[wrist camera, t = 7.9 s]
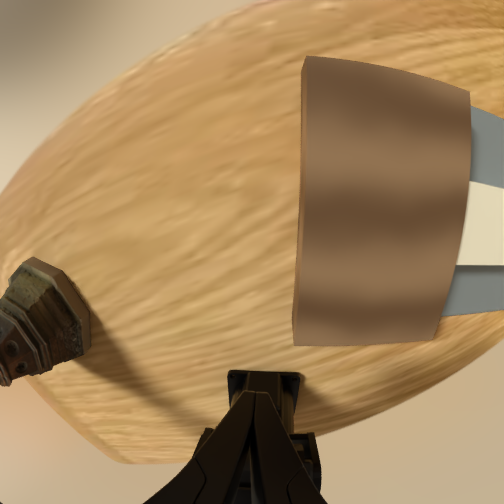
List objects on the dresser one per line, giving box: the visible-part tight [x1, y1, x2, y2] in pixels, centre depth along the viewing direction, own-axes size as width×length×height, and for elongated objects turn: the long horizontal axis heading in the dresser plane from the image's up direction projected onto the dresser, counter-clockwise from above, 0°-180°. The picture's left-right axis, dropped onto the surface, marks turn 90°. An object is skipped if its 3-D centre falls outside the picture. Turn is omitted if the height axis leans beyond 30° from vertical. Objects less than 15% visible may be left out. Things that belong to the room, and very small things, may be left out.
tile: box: [456, 180, 504, 265], centre depth 16 cm, size 6×9×2 cm, turn 90°
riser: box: [292, 56, 471, 346], centre depth 17 cm, size 18×11×4 cm, turn 0°
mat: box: [441, 106, 504, 316], centre depth 17 cm, size 18×12×1 cm
